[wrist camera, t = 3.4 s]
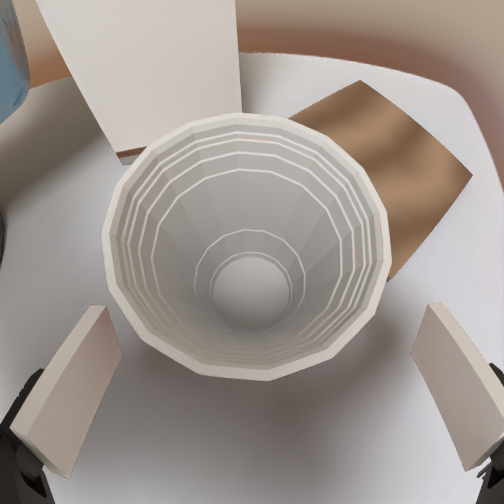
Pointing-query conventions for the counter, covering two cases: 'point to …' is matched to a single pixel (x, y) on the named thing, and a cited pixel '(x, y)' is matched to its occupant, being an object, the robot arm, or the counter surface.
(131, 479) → the counter surface
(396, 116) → the walnut board
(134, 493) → the counter surface
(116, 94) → the white dispenser
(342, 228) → the plastic cup
